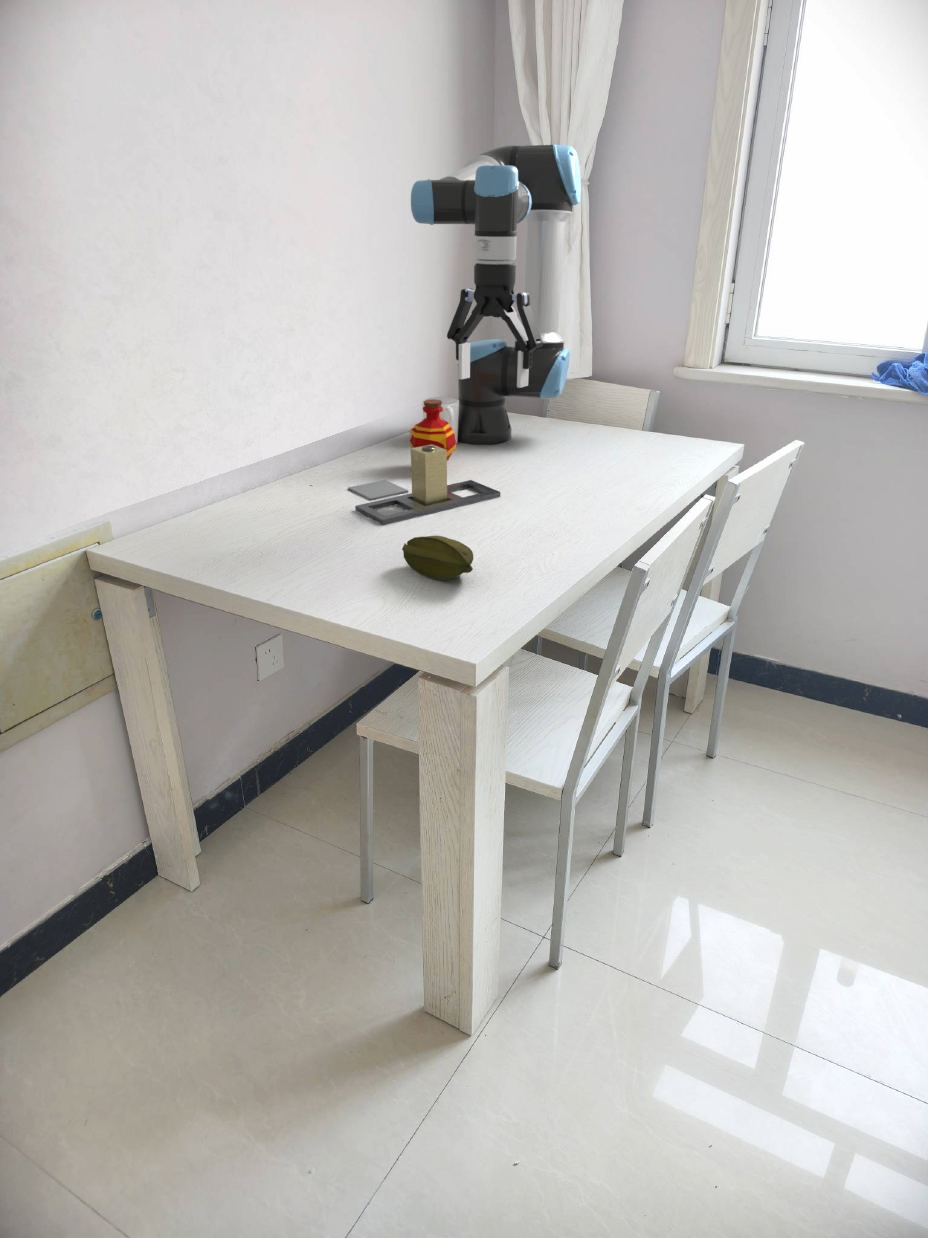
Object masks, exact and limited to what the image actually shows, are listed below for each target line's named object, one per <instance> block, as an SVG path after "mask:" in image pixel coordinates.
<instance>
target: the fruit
mask: <svg viewBox="0 0 928 1238" xmlns="http://www.w3.org/2000/svg"><path fill="white" fill-rule="evenodd" d="M401 550H402V553H403V559H404V561H405V562H406V563H407V565H408V566H409V567H410V568H411V569H412V570H414V572H416V573H417V574H418V575H421V576H424V577H426V578H428V579H432V580H437V581H438V580H440V581H446V580H447V581H448V580H452V579H455V578H457V577H459V576H460V575H462V574H468V573H471V572H472V571H473V570H474V569H473V567H472V563H473V561H474V553H473V550H472V549H471V548H470V547H469V546H467V545H465V544H464V543H463V542H460V541H458V540H455V539H452V538H449V537H446V536H442V535H429V536H416V537H415V536H414V537H412V538H411V539H409V540H407V542H406V543H405V542H404V544H403V546H402V549H401Z"/></svg>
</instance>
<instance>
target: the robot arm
mask: <svg viewBox="0 0 928 1238" xmlns="http://www.w3.org/2000/svg"><path fill="white" fill-rule="evenodd" d="M581 182H582V181H581V169H580V162H579V157H578V153H577V151H576V150H575V148H574V147H573V146H571V145H561V144H541V145H540V144H538V145H534V144H533V145H504V146H500V147H496V148H492V149H490V150H488V151H485V152H483V153H480V154H477V155H476V156H473V157H472V158H470V159H469V160H468V161H467V162H466V163H465V165H464V166H463V168H461V169H458V170H457V171H455V172H452V173H451V174H449V175H446V176H445V177H443V178H440V179H431V178H427V179H423V180H421V179H420V180H417V181H415V182H414V183H413V184H412V188H411V191H410V209H411V210H410V211H411V214H412V217H413V219H414V221H415V222H417V223H418V224H422V225H423V224H426V225H430V226H434V225H474V259H475V260H476V261H477V262H476V263H475V264H474V266H473V269H474V270H473V274H474V275H473V283H474V285H475V289H473V288H472V287H469V288H462V289H461V290H460V295H459V296H460V298H459V302H458V305H457V308H456V310H455V313H454V316H453V317H452V320H451V323H450V325H449V329H448V331H447V333H446V338H447V339H448V340H452V341H454V343H455V359H456V361H458V363H457V367H458V369H457V372H458V376H457V378H458V380H457V381H458V400H459V417H458V440H457V442H461V443H467V444H475V445H477V444H478V445H487V444H488V445H489V444H498V443H504V442H506V441H508V440H510V439H512V432H513V431H512V425H511V423H510V419H509V415H508V412H507V407H506V397H513V398H528V399H529V398H530V399H539V400H542V399H557V398H558V397H559V396H560V395H561V394H562V393H563V390H564V387H565V384H566V379H567V377H568V372H569V366H570V356H571V352H570V350H569V348H564V347H565V345H564V344H565V340H564V339H563V338H562V337H561V335H560V334H559V324H560V322H559V321H560V309H561V307H560V305H561V292H562V275H563V274H562V273H563V272H562V271H563V261H564V260H563V259H564V258H563V256H564V255H563V254H564V241H565V240H564V239H565V225H566V224H565V223H566V221H567V220H568V219H569V218H570V217H571V216H572V215H573V208H574V206H577V205H578V204H580V201H581V191H582V183H581ZM524 220H525V221H526V232H525V233H526V234H525V235H526V237H525V254H524V255H525V257H524V275H523V277H524V278H523V279H524V280H523V281H524V282H523V292H518V293H515V290H514V287H515V285H516V273H517V272H516V271H517V270H516V269H517V266H516V265H515V263H513V261H515V260H517V240H518V239H517V238H518V237H517V226H518V225H517V224H520V223H521V222H522V221H524ZM474 301H475V302H476V305H475V306H474V307H473V309H472V311H471V314H470V315H469V312H470V310H471V307H472V304H473V302H474ZM513 304H514V305H515V306H516V307H517V308H516V309H517V311H516V309H515V308H514V306H513ZM517 312H518V313H517ZM517 315H519V317H520V319H519V317H518V316H517ZM468 316H469V317H468ZM467 317H468V319H467ZM484 317H493V318H501V319H502V320H503V321H504V322H505V324H506V325H507V327H508V328H509V330H510V331H511V334H512V335H513V337H514V346H508V342H507V340H506V339H498V338H495V339H494V338H493V339H483V340H477V341H473V342H469V338H470V336H471V335H472V334H473V332H474V331H475V330H476V329H477V326H478V325H480V322H481V321H482V320H483V318H484Z"/></svg>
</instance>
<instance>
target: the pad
mask: <svg viewBox="0 0 928 1238" xmlns="http://www.w3.org/2000/svg"><path fill="white" fill-rule="evenodd" d="M347 488H348V490H349V491H351V492H353V493H355V494H357V495H359V496H361V497H363V498H365V499H366V500H369V501H376V500H381V499H385V498H390V497H394V496H399V495H402V494H405V493H406V494H408V493H409V490H408V489H406V488H404V487H402V486H400V485H397V484H395V483H393V482H391V481H389V480H386V479H382V480H378V481H377V480H376V481H373V482H369V483H368V482H367V483H363V484H358V485H353V486H349V487H347Z"/></svg>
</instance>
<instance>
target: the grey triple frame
mask: <svg viewBox="0 0 928 1238" xmlns="http://www.w3.org/2000/svg"><path fill="white" fill-rule="evenodd" d="M466 489H470V490H473V491H475V492H477V494H471V495H466V496H460V495H458V494H456V493H454V492H457V491H462V490H466ZM496 498H501V491H499V490H497V489H494V488H492V487H489V486H487V485H485V484H483V483H479V482H477V481H474V480H472V479H469V480H465V481H460V482H456V483H451V484H447V501H445V502H441V503H437V504H432V505H428V506H424V505H422V504H419V503H417V502H415V501H413V500H412V492H410V493H406V494H403V495H402V494H400V495H396V496H391V497H387V498H382V499H378V500H373V501H371V502H366V503H362V504H358V505H355V507H354V508H355V512H357V513H360V515H361V514H362V515H363V516H365V517H366V518H369V519H370V520H372V521H374V522H376V523H378V524H380V525H381V526H384V525H388V524H393V523H398V522H402V521H405V520H409V519H414V518H418V517H421V516H422V517H423V516H427V515H430V514H434V513H439V512H443V511H446V510H451V509H455V508H460V507H463V506H467V505H471V504H475V503H479V502H484V501H488V500H492V499H496ZM393 506H398V507H400V508H403V509H404V510H403V511H399V512H395V513H391V514H386V515H385V514H384V513H381V512H379V511H378V510H380V509H384V508H389V507H393Z"/></svg>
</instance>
